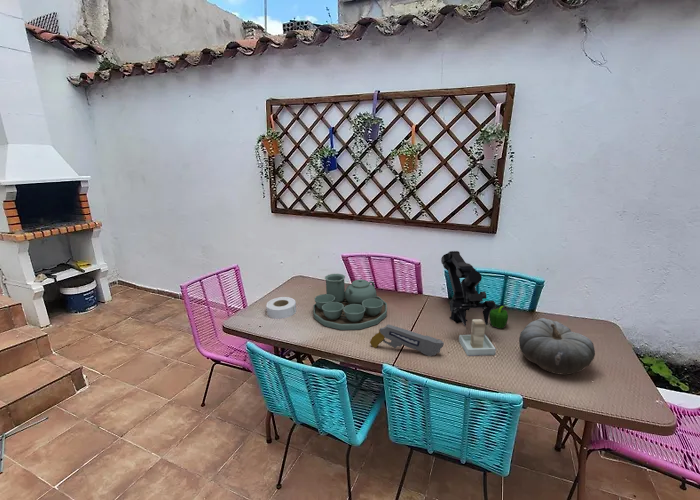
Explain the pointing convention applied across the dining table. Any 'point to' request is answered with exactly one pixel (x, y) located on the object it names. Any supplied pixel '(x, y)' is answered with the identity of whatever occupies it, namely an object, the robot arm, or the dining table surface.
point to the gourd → (556, 347)
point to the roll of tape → (281, 307)
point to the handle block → (477, 333)
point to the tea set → (349, 304)
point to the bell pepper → (498, 317)
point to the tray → (486, 350)
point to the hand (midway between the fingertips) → (476, 325)
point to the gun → (407, 340)
